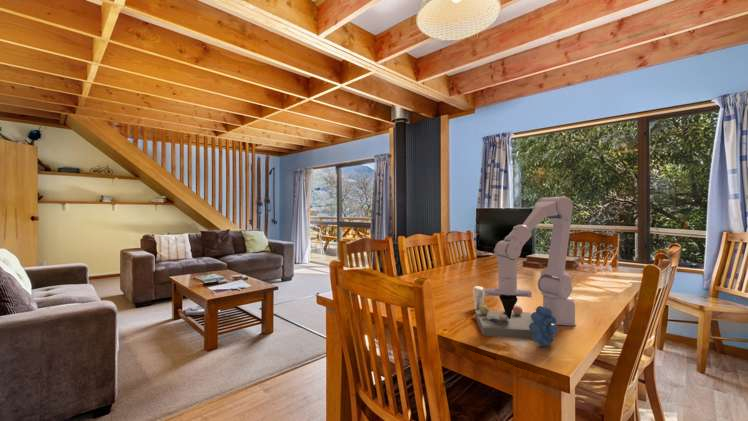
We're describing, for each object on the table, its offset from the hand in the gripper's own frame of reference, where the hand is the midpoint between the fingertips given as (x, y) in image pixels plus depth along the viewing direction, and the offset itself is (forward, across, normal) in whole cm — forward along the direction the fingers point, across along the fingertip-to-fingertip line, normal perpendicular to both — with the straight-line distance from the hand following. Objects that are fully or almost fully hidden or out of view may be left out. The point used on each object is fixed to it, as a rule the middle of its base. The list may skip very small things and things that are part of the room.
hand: (507, 317), depth 107 cm
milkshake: (+4, +6, -20) cm, 21 cm away
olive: (0, +6, -7) cm, 9 cm away
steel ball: (0, +1, 0) cm, 1 cm away
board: (+4, -1, -2) cm, 4 cm away
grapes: (+4, -7, +14) cm, 16 cm away
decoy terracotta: (0, -5, -8) cm, 9 cm away
